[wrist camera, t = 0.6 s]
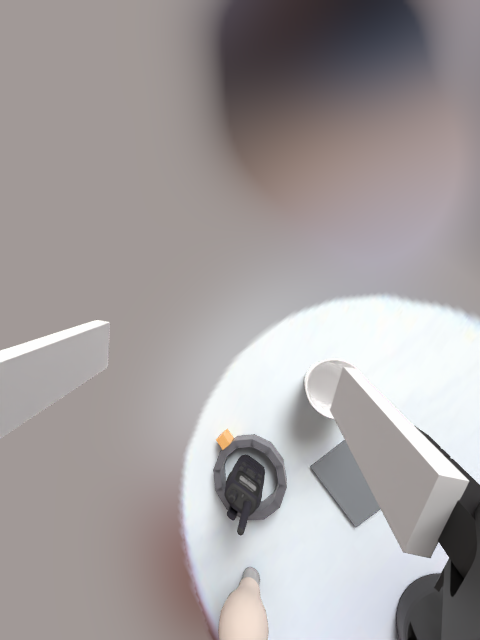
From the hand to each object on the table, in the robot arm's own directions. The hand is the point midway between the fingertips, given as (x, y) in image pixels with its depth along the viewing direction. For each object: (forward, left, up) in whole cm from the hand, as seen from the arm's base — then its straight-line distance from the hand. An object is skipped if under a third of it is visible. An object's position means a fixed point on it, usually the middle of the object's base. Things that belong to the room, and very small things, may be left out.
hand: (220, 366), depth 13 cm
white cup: (-9, -6, -31) cm, 33 cm away
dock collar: (-12, +14, -31) cm, 36 cm away
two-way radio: (-13, +14, -31) cm, 37 cm away
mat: (-23, 0, -31) cm, 38 cm away
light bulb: (-25, +24, -31) cm, 46 cm away
